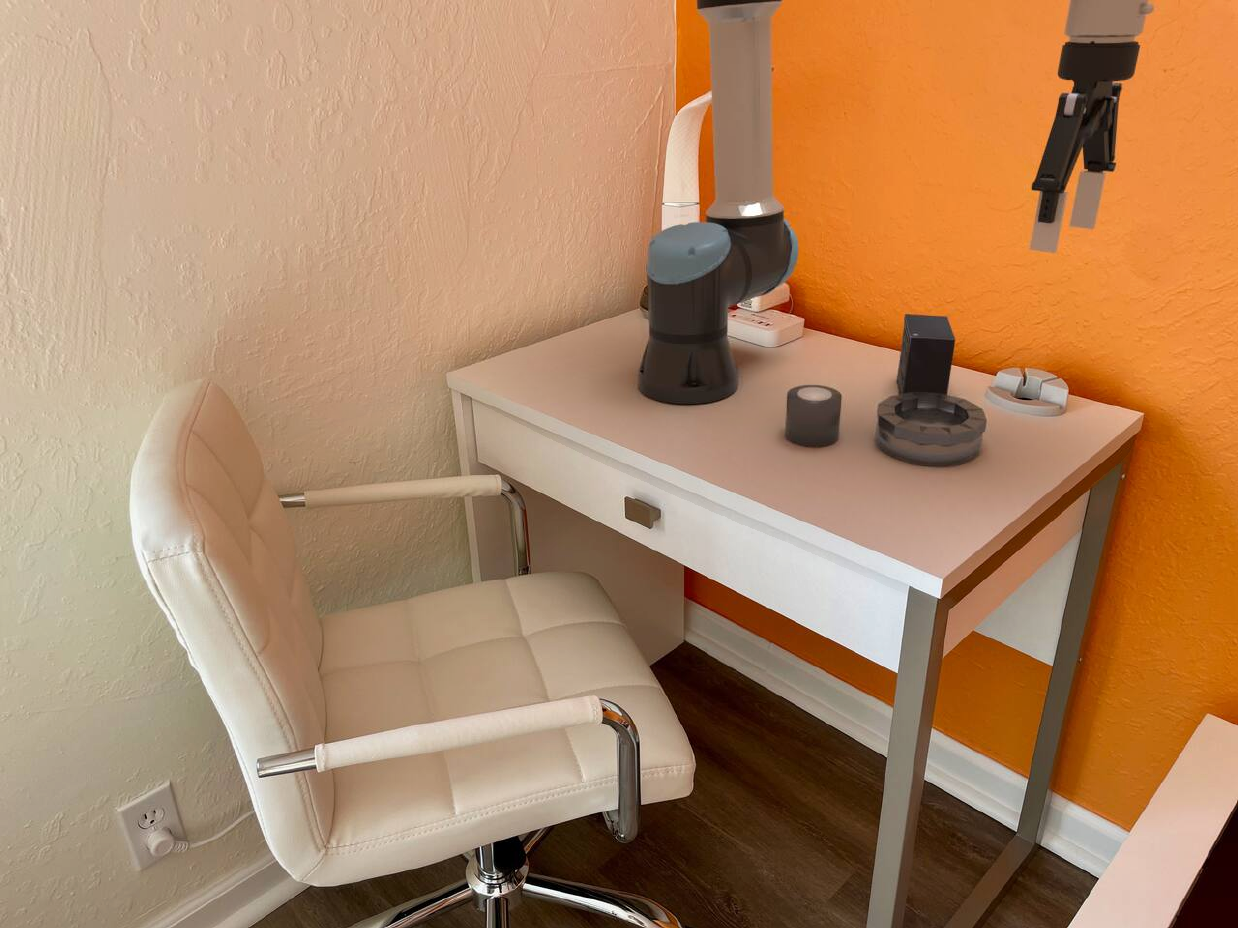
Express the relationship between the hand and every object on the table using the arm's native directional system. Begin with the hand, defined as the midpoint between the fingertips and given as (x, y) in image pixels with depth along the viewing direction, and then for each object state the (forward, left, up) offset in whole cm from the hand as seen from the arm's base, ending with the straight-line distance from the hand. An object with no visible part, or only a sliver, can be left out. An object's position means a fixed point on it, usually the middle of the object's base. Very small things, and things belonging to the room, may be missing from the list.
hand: (1063, 239), depth 108 cm
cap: (-22, -16, -26) cm, 38 cm away
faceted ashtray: (-9, -9, -26) cm, 29 cm away
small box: (-17, +6, -27) cm, 32 cm away
